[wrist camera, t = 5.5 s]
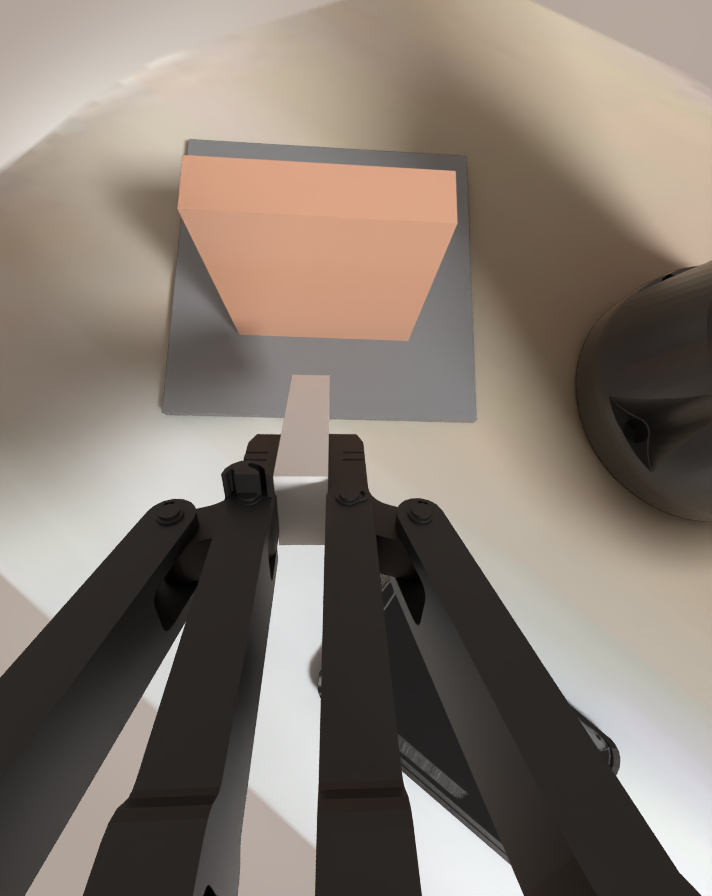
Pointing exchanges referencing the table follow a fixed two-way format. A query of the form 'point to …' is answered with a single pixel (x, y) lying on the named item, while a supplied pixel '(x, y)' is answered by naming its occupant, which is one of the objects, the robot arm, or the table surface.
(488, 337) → the table surface
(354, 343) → the mat
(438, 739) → the phone
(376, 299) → the tile
